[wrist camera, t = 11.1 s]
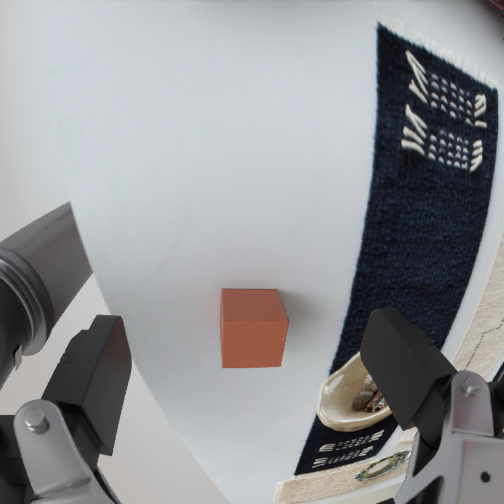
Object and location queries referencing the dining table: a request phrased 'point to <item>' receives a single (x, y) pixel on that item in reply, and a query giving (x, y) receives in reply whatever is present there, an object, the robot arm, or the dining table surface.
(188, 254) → the dining table surface
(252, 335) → the block
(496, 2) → the flower
